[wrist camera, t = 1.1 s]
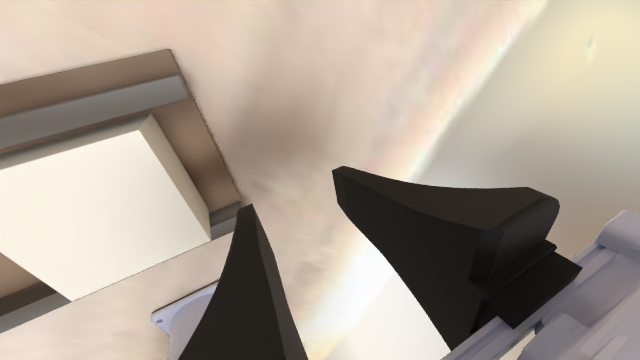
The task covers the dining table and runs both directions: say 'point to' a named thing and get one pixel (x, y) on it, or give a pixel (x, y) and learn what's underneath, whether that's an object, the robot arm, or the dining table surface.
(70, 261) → the white flat square block
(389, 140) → the dining table surface
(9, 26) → the dining table surface
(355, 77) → the dining table surface
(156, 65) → the bay
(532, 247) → the robot arm
